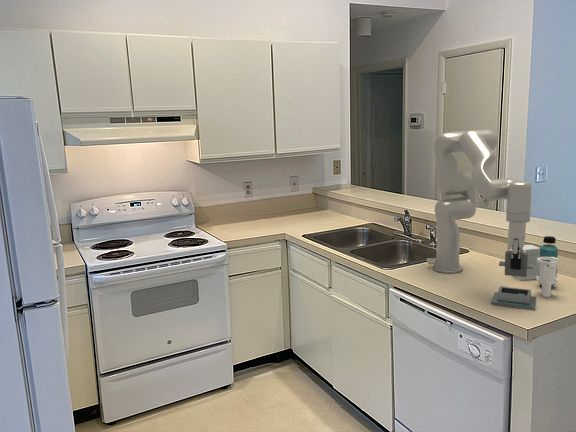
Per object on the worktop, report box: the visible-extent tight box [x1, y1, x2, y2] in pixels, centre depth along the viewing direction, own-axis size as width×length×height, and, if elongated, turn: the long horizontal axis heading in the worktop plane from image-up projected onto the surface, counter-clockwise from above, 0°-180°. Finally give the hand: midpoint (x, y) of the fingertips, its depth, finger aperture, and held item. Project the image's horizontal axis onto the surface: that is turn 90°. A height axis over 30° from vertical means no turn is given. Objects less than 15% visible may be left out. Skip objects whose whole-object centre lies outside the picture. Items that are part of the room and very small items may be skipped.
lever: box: [498, 250, 534, 277], centre depth 174 cm, size 11×4×9 cm, turn 61°
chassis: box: [490, 286, 537, 311], centre depth 176 cm, size 14×11×4 cm
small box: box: [512, 244, 540, 281], centre depth 200 cm, size 8×6×13 cm
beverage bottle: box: [538, 235, 559, 287], centre depth 188 cm, size 6×7×20 cm
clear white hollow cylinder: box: [535, 257, 560, 298], centre depth 180 cm, size 7×7×15 cm
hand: (516, 266), depth 174 cm, fingers closed on lever, 4 cm apart
